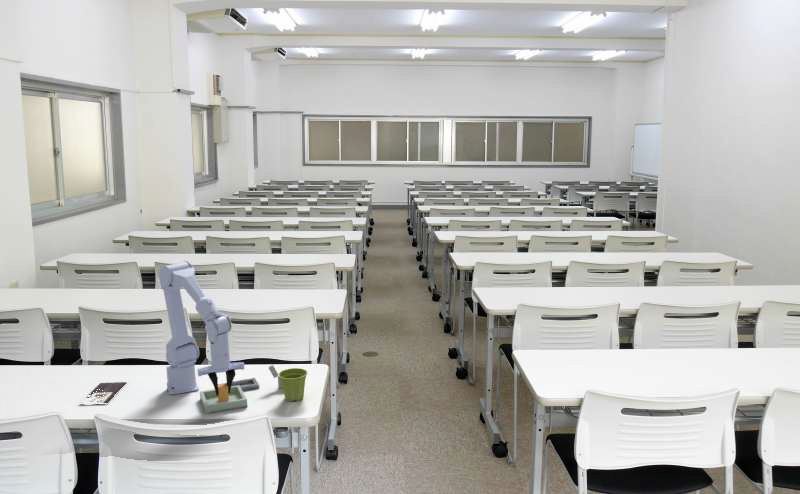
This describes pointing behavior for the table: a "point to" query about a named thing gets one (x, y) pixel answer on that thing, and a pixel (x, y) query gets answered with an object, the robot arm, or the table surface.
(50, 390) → the table surface
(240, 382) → the frame
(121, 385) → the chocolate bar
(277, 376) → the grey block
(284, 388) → the plant pot
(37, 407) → the table surface
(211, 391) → the tray
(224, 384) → the pin
